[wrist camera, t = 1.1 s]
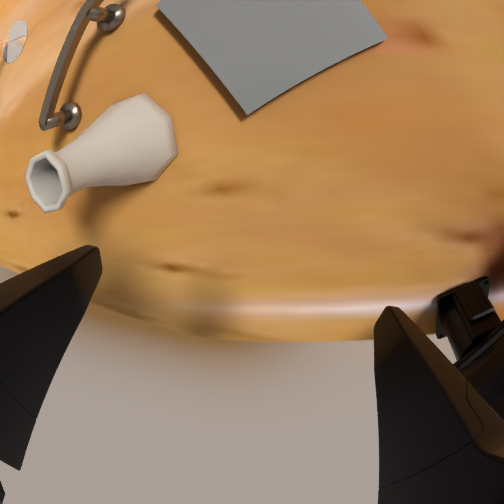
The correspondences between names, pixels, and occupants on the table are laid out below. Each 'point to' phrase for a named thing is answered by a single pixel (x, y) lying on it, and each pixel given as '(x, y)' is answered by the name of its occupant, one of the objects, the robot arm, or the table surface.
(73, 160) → the flask
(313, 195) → the table surface
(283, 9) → the slate coaster
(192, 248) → the table surface
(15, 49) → the wineglass
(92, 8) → the bent rail
